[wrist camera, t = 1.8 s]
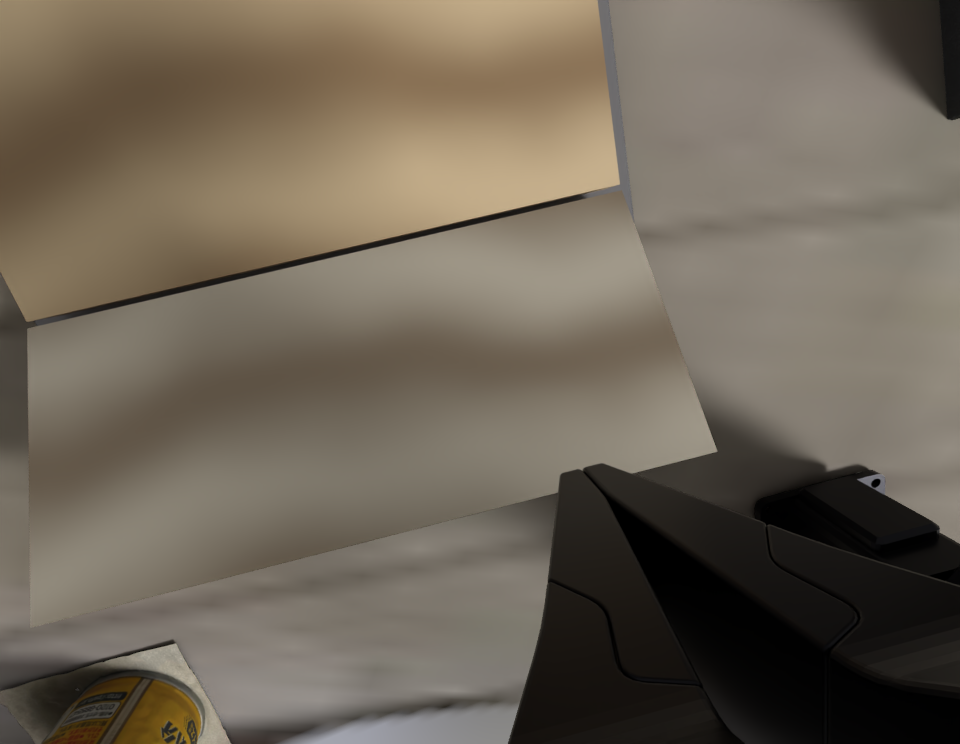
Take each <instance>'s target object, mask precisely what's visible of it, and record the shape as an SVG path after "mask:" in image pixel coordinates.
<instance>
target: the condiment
mask: <svg viewBox="0 0 960 744" xmlns="http://www.w3.org/2000/svg"><path fill="white" fill-rule="evenodd" d="M76 688H78V689H79V691H76V690H75V689H76ZM0 703H1V704H2V705H5V706H6V707H7V708H8V710H9V711H10V713H11V714H12V715H13V716H14V717H15V718H16V719H17V721H18V723H19V724H20V725H21V726H22V727H23V728H24V729H25V730H26V731H27V732H28V734H29V735H30V737H31V738H32V740H33V741H34V743H35V744H231V743H230V740H229V739H228V737H227V735H226V732H225V730H224V729H223V727H222V725H221V722H220V720H219V718H218V716H217V714H216V713H215V711H214V709H213V706H212V704H211V703H210V701H209V699H208V697H207V696H206V694H205V692H204V690H203V689H202V688H201V685H200V683H199V682H198V680H197V678H196V676H195V675H194V674H193V672H192V670H191V669H189V667H188V665H187V663H186V661H185V660H184V658H183V656H182V654H181V652H180V650H179V648H178V646H177V644H176V643H175V644H172V645H168V646H164V647H159V648H155V649H151V650H147V651H142V652H138V653H135V654H132V655H130V656H122V657H118V658H115V659H110V660H108V661H105V662H100V663H96V664H94V665H91V666H88V667H84V668H80V669H77V670H75V671H73V672H70V673H67V674H60V675H55V676H52V677H49V678H43V679H39V680H35V681H32V682H29V683H26V684H24V685H21V686H18V687H15V688H12V689H6V690H2V691H0Z"/></svg>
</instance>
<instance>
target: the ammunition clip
mask: <svg viewBox="0 0 960 744" xmlns="http://www.w3.org/2000/svg"><path fill="white" fill-rule="evenodd" d="M939 2H940V16H941V31H942V45H943V60H944V74H945V89H946V103H947V118H948V119H950V120H955V119H958V118H960V0H939Z"/></svg>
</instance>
